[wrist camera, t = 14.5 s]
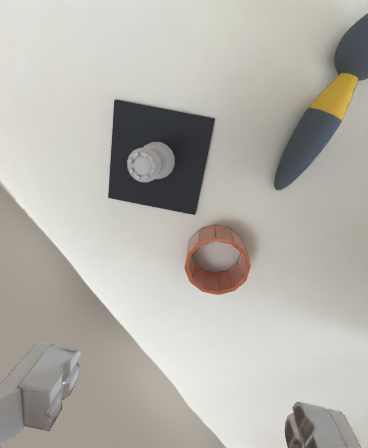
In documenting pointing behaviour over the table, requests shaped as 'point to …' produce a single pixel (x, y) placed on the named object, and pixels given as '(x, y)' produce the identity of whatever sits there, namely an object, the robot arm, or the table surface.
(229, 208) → the table surface
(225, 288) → the brown hollow cylinder
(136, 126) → the pad
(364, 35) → the paintbrush
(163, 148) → the rook chess piece
